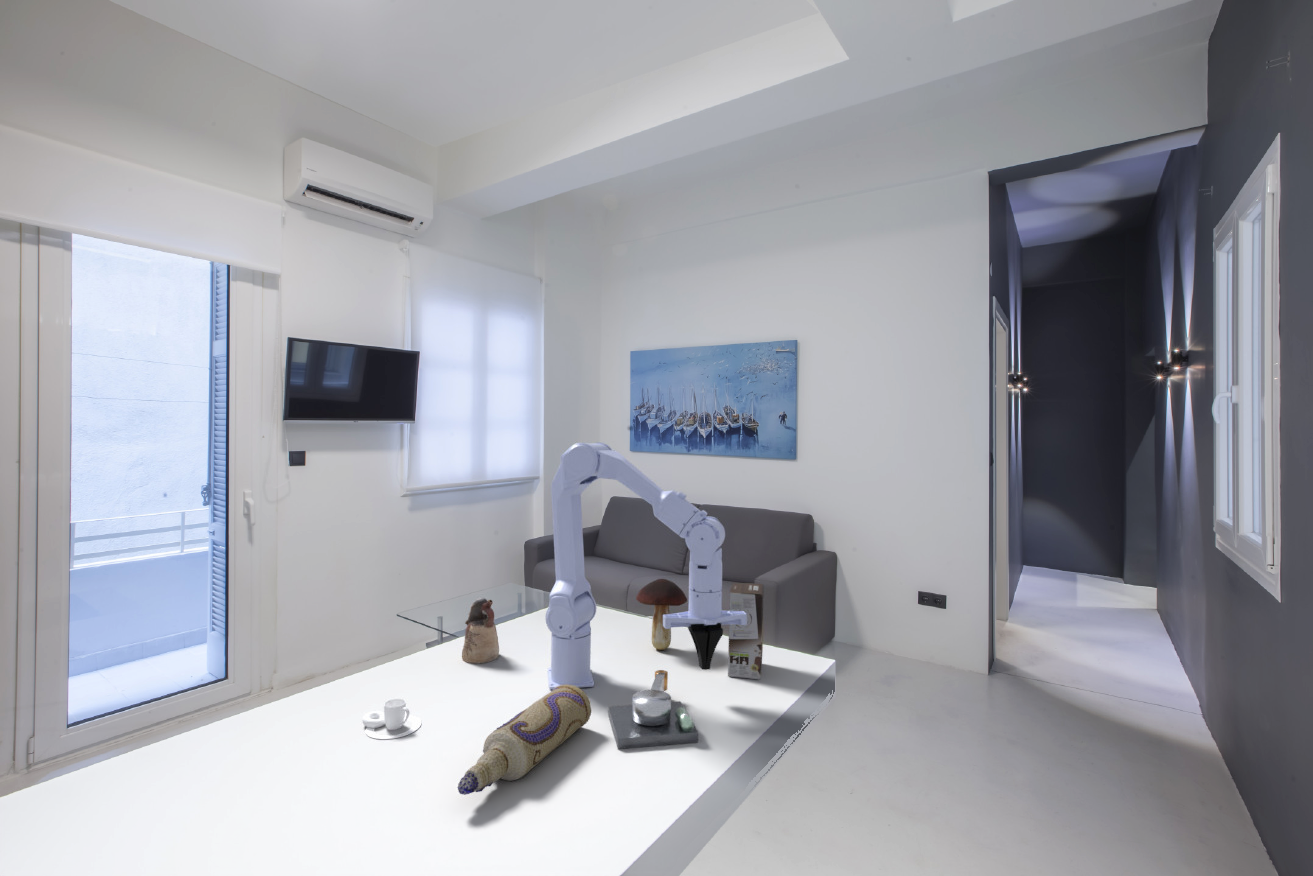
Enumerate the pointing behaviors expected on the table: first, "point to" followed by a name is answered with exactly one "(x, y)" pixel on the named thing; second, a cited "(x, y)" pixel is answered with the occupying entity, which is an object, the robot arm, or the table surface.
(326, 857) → the table surface
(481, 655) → the figurine
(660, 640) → the decorative mushroom
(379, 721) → the teacup and saucer
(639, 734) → the plate
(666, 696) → the silver pan
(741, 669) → the coffee box
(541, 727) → the decorative bottle
